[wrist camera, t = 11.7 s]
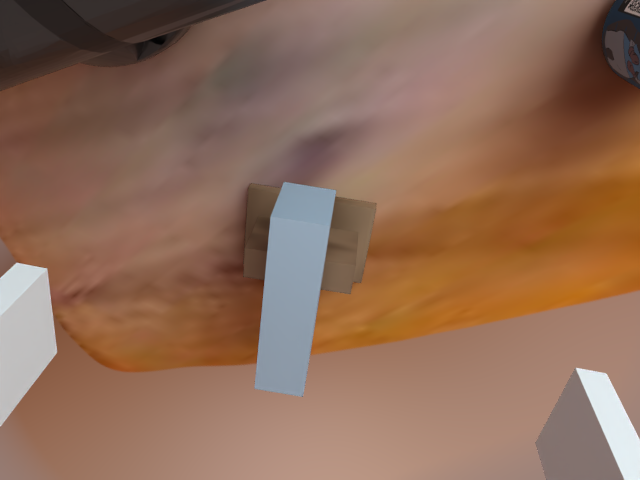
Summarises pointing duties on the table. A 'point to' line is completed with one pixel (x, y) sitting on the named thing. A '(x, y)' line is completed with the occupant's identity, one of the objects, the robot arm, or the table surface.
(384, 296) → the table surface
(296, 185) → the bar
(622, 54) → the soda can
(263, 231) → the ridge stand
